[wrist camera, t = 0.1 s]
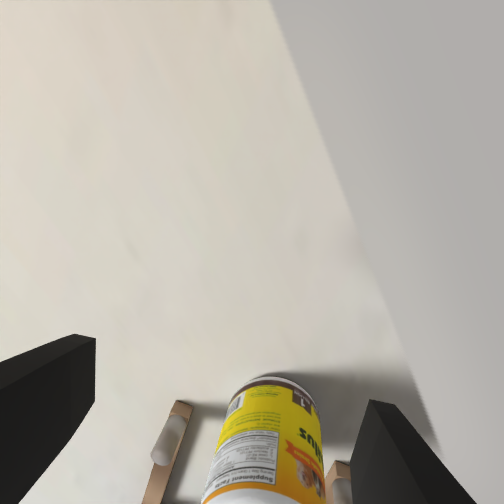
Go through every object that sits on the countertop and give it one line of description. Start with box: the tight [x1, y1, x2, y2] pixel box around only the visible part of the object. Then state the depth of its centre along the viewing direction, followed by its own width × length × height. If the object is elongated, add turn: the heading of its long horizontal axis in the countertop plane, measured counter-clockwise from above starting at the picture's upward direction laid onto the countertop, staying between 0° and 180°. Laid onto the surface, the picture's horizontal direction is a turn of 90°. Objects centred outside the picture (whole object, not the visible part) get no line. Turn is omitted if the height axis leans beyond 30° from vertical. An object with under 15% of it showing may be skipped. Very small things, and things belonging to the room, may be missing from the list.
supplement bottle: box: [201, 377, 326, 504], centre depth 16 cm, size 6×6×10 cm
